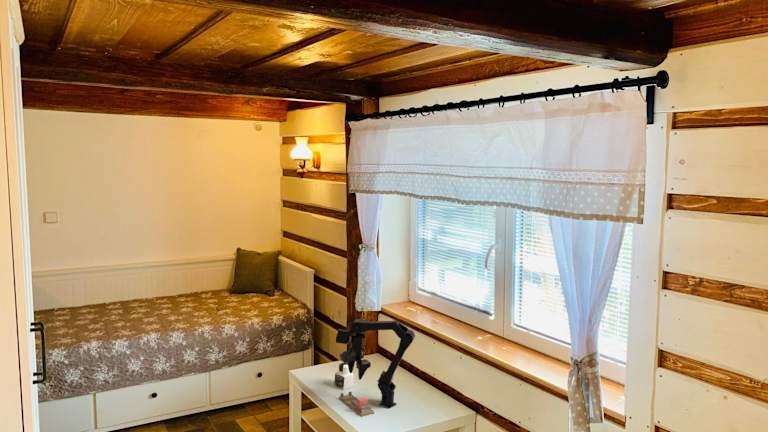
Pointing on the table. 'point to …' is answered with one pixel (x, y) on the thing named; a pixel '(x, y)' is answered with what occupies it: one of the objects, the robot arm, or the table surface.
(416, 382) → the table surface
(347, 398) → the plank
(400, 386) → the table surface
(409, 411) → the table surface
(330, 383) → the table surface
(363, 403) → the tab
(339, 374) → the cream yellow box
